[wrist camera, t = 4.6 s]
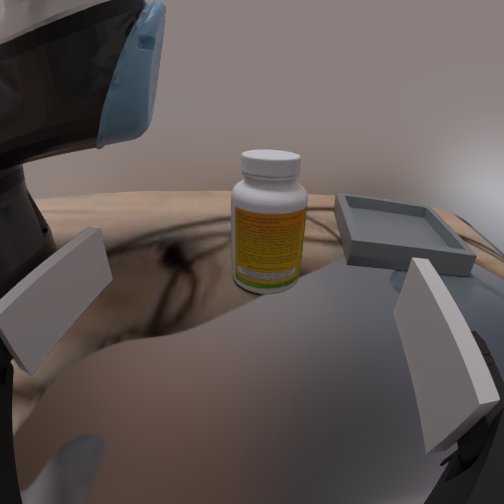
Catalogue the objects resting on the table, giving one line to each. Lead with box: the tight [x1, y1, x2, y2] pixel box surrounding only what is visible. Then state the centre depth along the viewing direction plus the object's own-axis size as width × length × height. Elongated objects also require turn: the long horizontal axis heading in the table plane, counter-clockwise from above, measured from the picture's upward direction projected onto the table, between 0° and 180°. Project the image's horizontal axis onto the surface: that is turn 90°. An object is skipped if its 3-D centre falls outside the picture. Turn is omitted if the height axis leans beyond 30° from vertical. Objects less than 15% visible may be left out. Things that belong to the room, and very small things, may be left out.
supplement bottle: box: [231, 150, 308, 294], centre depth 21 cm, size 5×5×10 cm
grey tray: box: [334, 192, 477, 277], centre depth 29 cm, size 14×14×2 cm
